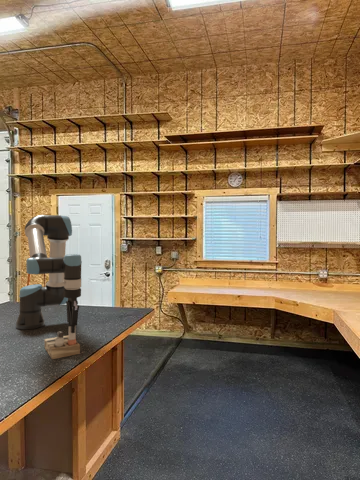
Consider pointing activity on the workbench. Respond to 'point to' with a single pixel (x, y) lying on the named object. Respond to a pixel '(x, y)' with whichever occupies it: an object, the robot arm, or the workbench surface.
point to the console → (61, 348)
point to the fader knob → (59, 334)
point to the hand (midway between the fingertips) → (72, 339)
